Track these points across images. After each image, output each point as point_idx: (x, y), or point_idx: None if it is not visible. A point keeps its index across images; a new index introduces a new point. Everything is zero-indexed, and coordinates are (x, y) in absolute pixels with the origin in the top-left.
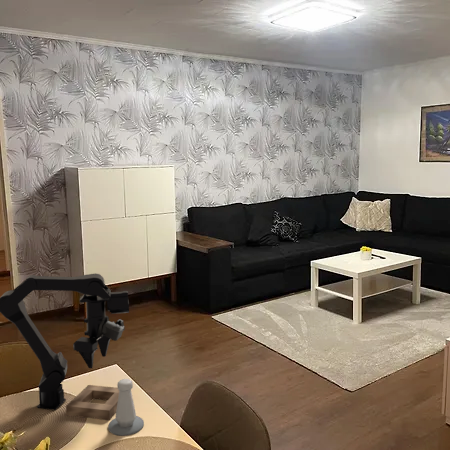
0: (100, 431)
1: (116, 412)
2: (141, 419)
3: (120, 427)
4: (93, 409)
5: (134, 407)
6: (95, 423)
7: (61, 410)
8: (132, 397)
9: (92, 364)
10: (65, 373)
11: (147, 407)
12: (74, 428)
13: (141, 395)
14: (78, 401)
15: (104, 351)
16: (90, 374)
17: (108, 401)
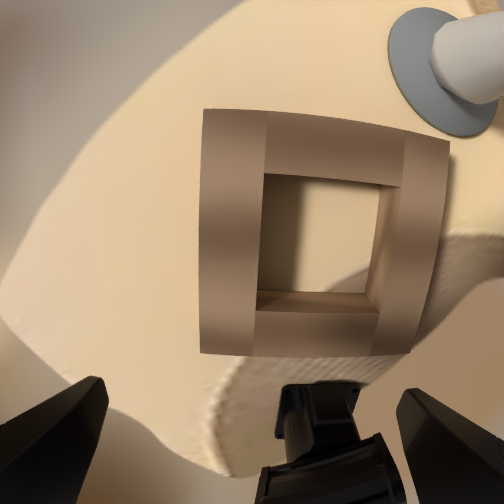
0: (485, 158)
1: (501, 96)
2: (411, 14)
3: None
4: (440, 224)
5: (466, 18)
6: (448, 194)
7: (358, 364)
8: (501, 11)
9: (437, 406)
10: (367, 476)
11: (294, 6)
12: (471, 259)
13: (179, 64)
14: (378, 324)
15: (79, 422)
16: (64, 370)
17: (373, 173)
